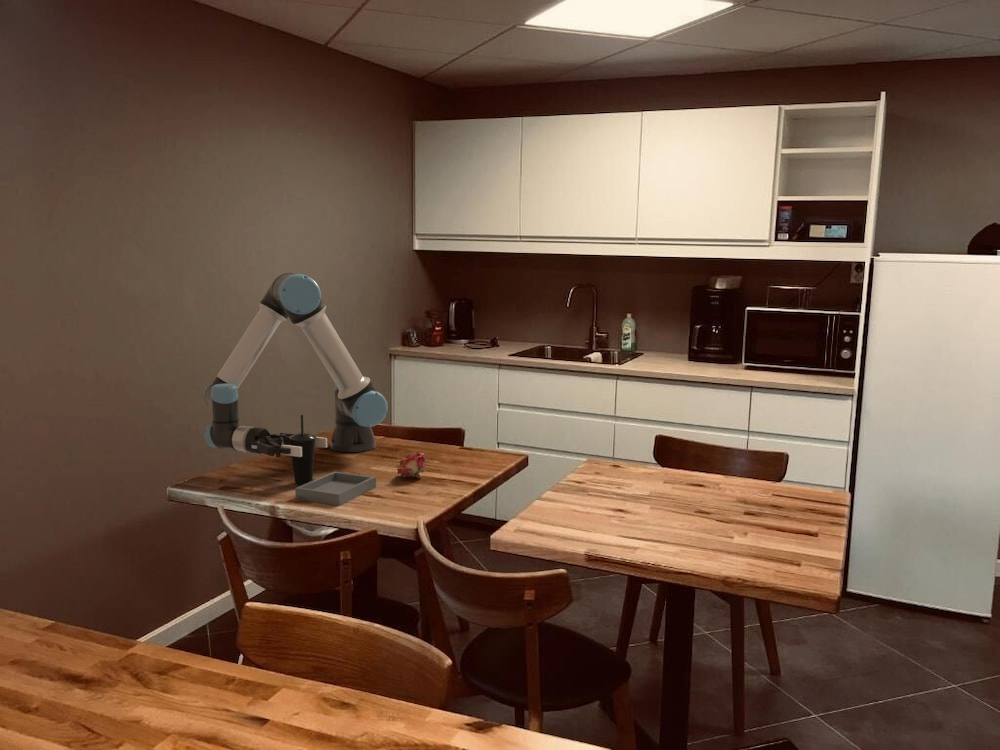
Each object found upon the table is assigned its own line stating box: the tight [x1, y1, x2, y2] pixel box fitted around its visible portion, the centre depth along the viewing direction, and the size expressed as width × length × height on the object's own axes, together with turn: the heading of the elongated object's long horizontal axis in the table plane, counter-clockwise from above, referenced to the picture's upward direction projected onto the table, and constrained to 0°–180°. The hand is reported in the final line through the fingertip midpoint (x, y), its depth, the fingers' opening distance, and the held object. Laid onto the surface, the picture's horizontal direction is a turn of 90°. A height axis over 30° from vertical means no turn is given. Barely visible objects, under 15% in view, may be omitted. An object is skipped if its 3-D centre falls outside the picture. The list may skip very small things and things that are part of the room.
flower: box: [396, 451, 427, 480], centre depth 234 cm, size 10×9×8 cm
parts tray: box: [294, 471, 377, 506], centre depth 219 cm, size 18×14×3 cm
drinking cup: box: [289, 414, 317, 486], centre depth 227 cm, size 8×8×20 cm
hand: (314, 447), depth 225 cm, fingers open, 11 cm apart
